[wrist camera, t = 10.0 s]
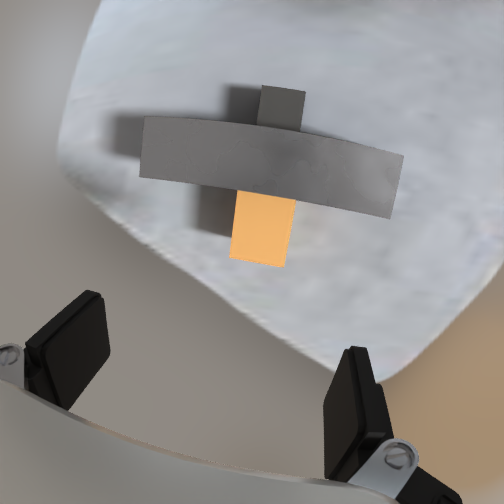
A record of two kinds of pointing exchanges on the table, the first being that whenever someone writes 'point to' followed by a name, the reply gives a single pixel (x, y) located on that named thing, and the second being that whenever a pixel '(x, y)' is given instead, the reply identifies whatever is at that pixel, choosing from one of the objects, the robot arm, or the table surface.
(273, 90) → the cable plug
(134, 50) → the table surface
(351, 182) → the grey notched block
